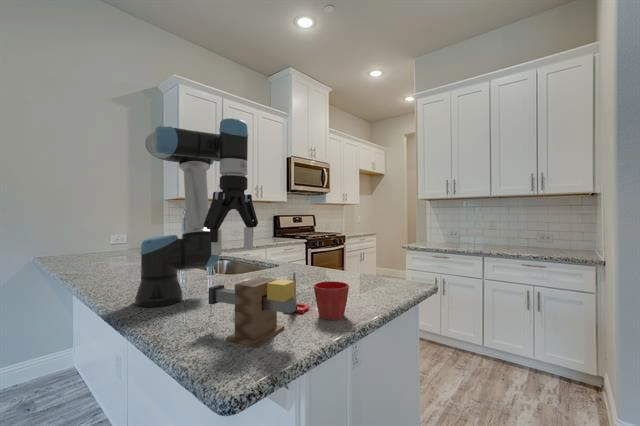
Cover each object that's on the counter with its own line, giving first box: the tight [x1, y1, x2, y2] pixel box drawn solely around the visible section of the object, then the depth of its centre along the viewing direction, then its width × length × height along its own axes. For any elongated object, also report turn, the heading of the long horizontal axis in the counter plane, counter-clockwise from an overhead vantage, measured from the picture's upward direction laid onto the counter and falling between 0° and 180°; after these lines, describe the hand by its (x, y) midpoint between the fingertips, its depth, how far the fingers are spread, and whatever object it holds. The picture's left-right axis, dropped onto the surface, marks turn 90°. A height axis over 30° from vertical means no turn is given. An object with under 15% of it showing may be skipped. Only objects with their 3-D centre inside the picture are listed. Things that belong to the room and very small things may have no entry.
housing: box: [225, 276, 285, 348], centre depth 81 cm, size 9×13×14 cm
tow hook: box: [291, 272, 310, 315], centre depth 102 cm, size 8×13×9 cm
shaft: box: [208, 284, 297, 314], centre depth 81 cm, size 26×4×4 cm, turn 65°
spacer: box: [267, 278, 295, 302], centre depth 77 cm, size 5×5×4 cm
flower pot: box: [313, 280, 350, 321], centre depth 95 cm, size 11×11×10 cm
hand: (233, 251), depth 86 cm, fingers open, 13 cm apart
